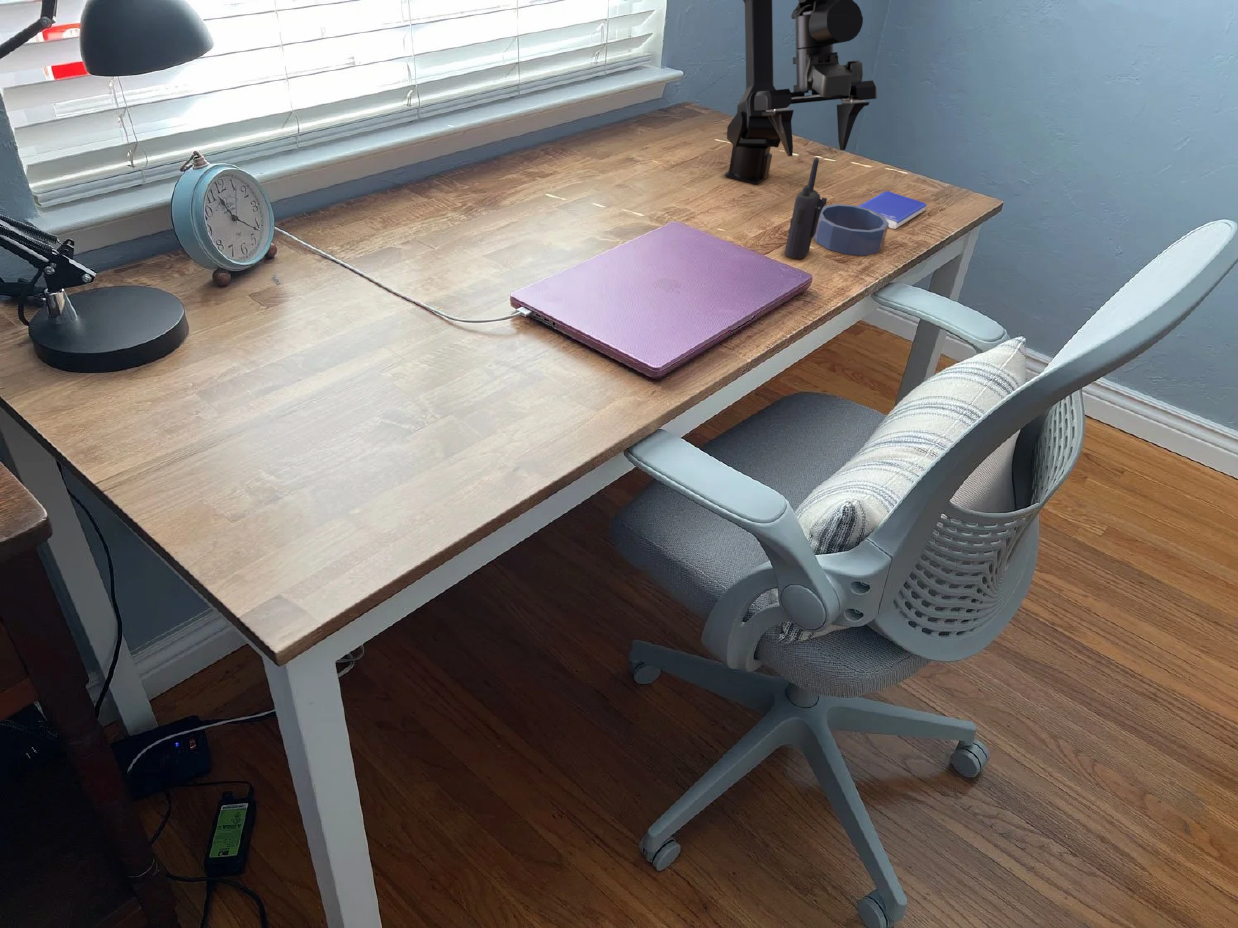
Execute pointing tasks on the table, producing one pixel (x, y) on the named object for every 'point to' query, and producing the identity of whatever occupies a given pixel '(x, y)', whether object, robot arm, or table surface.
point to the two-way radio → (804, 218)
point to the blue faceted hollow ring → (851, 229)
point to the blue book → (895, 208)
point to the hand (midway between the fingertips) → (816, 153)
